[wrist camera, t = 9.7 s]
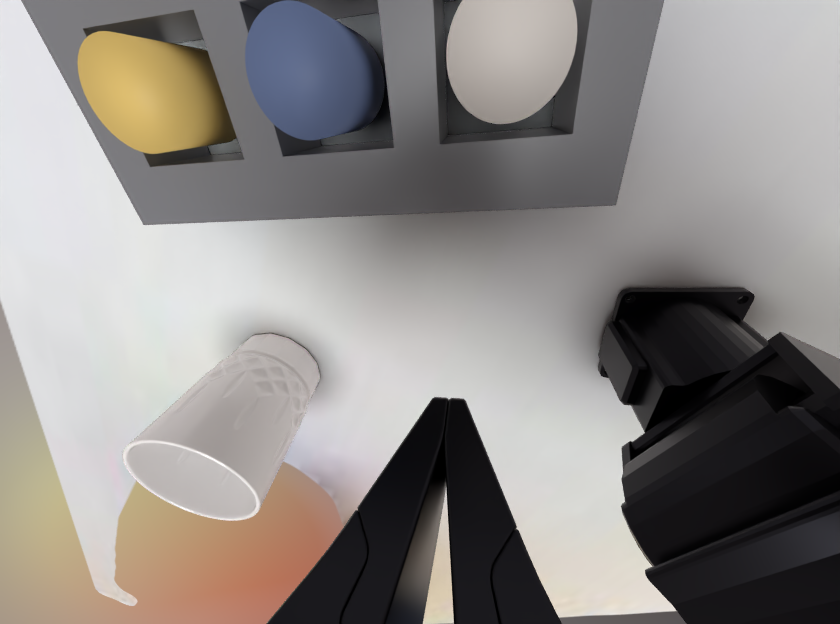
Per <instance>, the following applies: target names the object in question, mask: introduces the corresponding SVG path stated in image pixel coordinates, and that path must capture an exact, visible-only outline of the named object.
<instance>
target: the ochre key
mask: <svg viewBox="0 0 840 624" xmlns="http://www.w3.org/2000/svg"><path fill="white" fill-rule="evenodd" d="M78 73H79V78H80V82H81V86H82V88H83V91H84V94H85V96H86V98H87V100H88V102H89V104H90V106H91V107H92V109H93V111H94V112H95V114H96V115H97V117H98V118H99V119H100V121H101V122H102V123H103V124H104V126H105V127H106V128H107V129H108V130H109V131H110V132H111V133H112V134H113V135H114V136H115V137H117V138H118V139H119V140H120V141H122V142H123V143H125V144H126V145H128V146H130V147H131V148H133V149H135V150H138V151H141V152H144V153H149V154H158V153H164V152H171V151H177V150H183V149H189V148H196V147H202V146H208V145H214V144H221V143H227V142H230V141H233V140H234V139H236V138H237V136H236V133H235V130H234V127H233V124H232V121H231V118H230V116H229V113H228V110H227V107H226V104H225V101H224V98H223V95H222V92H221V89H220V86H219V83H218V80H217V77H216V74H215V71H214V68H213V65H212V63H211V60H210V57H209V54H208V51H206V50H202V49H198V48H193V47H188V46H183V45H178V44H173V43H167V42H162V41H157V40H152V39H147V38H142V37H136V36H131V35H126V34H121V33H116V32H110V31H98V32H95V33H92V34H91V35H89V36H88V37H87V38H86V39H84V41H83V43H82V44H81V46H80V49H79V53H78Z"/></svg>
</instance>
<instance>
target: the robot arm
mask: <svg viewBox="0 0 840 624" xmlns="http://www.w3.org/2000/svg"><path fill="white" fill-rule="evenodd" d="M628 296H632V298H631V299H629V300H625V299H626V298H627V297H628ZM742 296H743V297H742ZM740 297H742V298H741V299H739V298H740ZM738 299H739V300H738ZM753 300H754V294H753V293H751V292H750V291H748V290H747V289H744V288H629V289H625V290H623V291H622V292H620V294H619V296H618V299H617V302H616V306H615V309H614V313H613V317H612V320H611V321H610V322H609V323H608V324H607V325H606V329H605V332H604V336H603V340H602V343H601V347H600V351H599V358H600V363H599V366H598V370H599V372H600V374H601V376H603V377H606V378H609V379H610V381H611V383H612V385H613V387H614V389H615V391H616V393H617V396H618V398H619V400H620V401H621V402H622V403H623V404H624V405H631V406H632V408H633V410H634V412H635V414H636V416H637V418H638V420H639V422H640V424H641V426H642V428H643V430H644V432H645V433H644V434H643V435H642V436H640V437H639V438H637V439H636V440H635V441H633V442H631V441H630V442H628V443H627V444H625V445H624V446H623V447H622V461H623V475H622V484H623V490H624V496H625V502H624V503H623V504H622V506H621V508H622V513H623V516H624V518H625V520H626V522H627V525H628V527H629V529H630V532H631V533H632V535H633V537H634V539H635V541H636V543H637V545H638V547H639V548H640V550H641V551H642V553H643V554H644V556H645V557H646V559H647V560H648V561H649V563H650V564H651V565H652V566H653V567H650V568H648V569H646V570H645V574H646V576H647V578H648V580H649V581H650V582H651V583H652V584H653V585H654V586H655V587H656V588H657V589H658V590H659V591H660V592H661V593H662V595H663V596H664V597H665V598H666V599H667V600H668V601H669V602H670V603H671V604H672V605H673V606H674V608H675V609H676V610H677V611H678V613H679V614H680V615H681V617H682V618H683V619H684V621H685V622H686V623H687V624H840V359H839V358H836V357H834V356H832V355H830V354H828V353H826V352H823V351H821V350H819V349H817V348H815V347H813V346H811V345H808V344H806V343H804V342H802V341H800V340H798V339H796V338H793V337H791V336H789V335H787V334H785V333H783V332H779V333H778V334H776V335H775V336H774V337H772V338H771V339H770V340H768V341H767V340H766V339H765V338H764V337H762V336H761V335H760V334H759V333H758V332H756V331H755V330H754V329H753V328H752V327H750V326H749V325H748V324H747V323H745V322H744V321H743V319H744V317H745V315H746V313H747V311H748V310H749V308H750V306H751V304H752V302H753ZM605 370H606V371H605ZM446 487H447V505H448V523H449V541H450V559H451V577H452V595H453V613H454V624H561V621H560V619H559V617H558V615H557V614H556V612H555V610H554V608H553V606H552V603H551V601H550V599H549V597H548V595H547V593H546V591H545V589H544V587H543V585H542V583H541V581H540V579H539V577H538V575H537V572H536V570H535V568H534V566H533V563H532V561H531V559H530V557H529V554H528V552H527V550H526V547H525V545H524V542H523V540H522V538H521V535H520V533H519V530H517V529H516V528H517V526H516V523H515V521H514V518H513V516H512V514H511V511H510V509H509V506H508V504H507V501H506V499H505V496H504V494H503V491H502V489H501V487H500V484H499V482H498V479H497V477H496V474H495V472H494V469H493V467H492V464H491V462H490V460H489V457H488V455H487V452H486V450H485V447H484V445H483V442H482V440H481V437H480V435H479V433H478V430H477V428H476V425H475V423H474V420H473V418H472V415H471V413H470V410H469V408H468V406H467V403H466V401H465V400H464V399H460V398H450V399H448V398H442V397H434V398H433V399H432V400H431V401H430V403H429V404H428V406H427V407H426V409H425V410H424V411H423V413H422V414H421V416H420V417H419V419H418V420H417V422H416V423H415V425H414V426H413V427H412V429H411V430H410V432H409V433H408V435H407V436H406V438H405V439H404V441H403V442H402V443H401V445H400V446H399V448H398V449H397V451H396V452H395V454H394V455H393V457H392V458H391V460H390V461H389V462H388V464H387V465H386V467H385V468H384V470H383V471H382V473H381V474H380V476H379V477H378V478H377V480H376V481H375V483H374V484H373V486H372V487H371V489H370V490H369V492H368V493H367V495H366V496H365V497H364V499H363V500H362V502H361V503H360V505H359V506H358V510H356V511H355V512H354V513H353V515H352V516H351V518H350V519H349V521H348V522H347V523H346V525H345V526H344V528H343V529H342V530H341V532H340V533H339V535H338V536H337V537H336V539H335V540H334V541H333V543H332V544H331V546H330V547H329V549H328V550H327V551H326V552H325V554H324V555H323V556H322V557H321V558H320V560H319V561H318V562H317V563H316V565H315V566H314V567H313V568H312V570H311V571H310V572H309V573H308V575H307V576H306V577H305V578H304V579H303V581H302V582H301V583H300V584H299V585H298V587H297V588H296V589H295V590H294V591H293V592H292V594H291V595H290V596H289V597H288V598H287V600H286V601H285V602H284V603H283V605H282V606H281V607H280V608H279V609H278V610H277V612H276V613H275V614H274V615H273V617H272V618H271V619H270V620H269V621H268V622H267V624H423V619H424V613H425V607H426V601H427V596H428V590H429V584H430V578H431V572H432V567H433V561H434V555H435V549H436V543H437V538H438V532H439V526H440V520H441V514H442V509H443V503H444V497H445V491H446Z"/></svg>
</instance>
